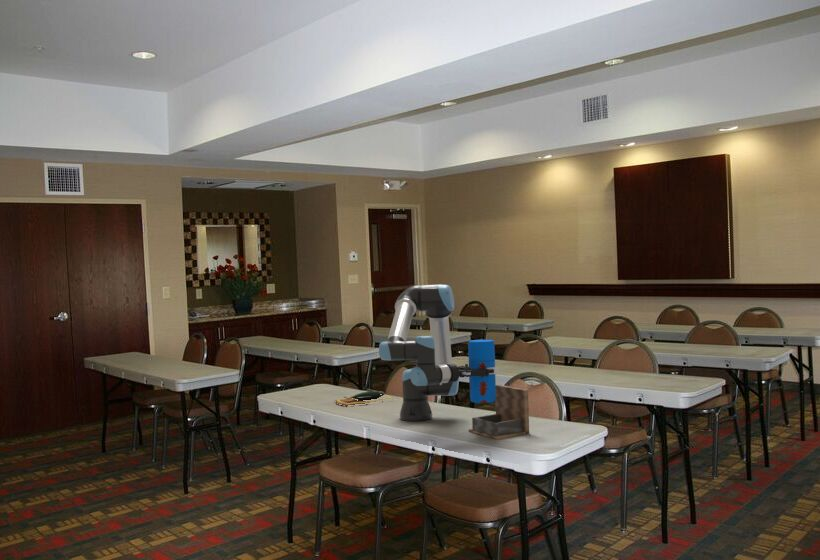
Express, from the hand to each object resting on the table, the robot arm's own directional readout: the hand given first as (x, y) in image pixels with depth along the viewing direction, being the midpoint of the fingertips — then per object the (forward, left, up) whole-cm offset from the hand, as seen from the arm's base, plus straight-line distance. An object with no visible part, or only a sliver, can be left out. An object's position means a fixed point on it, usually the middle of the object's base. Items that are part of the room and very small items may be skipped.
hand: (489, 368), depth 296 cm
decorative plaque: (-100, -6, -27) cm, 104 cm away
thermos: (0, -4, -13) cm, 14 cm away
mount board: (+3, +1, -26) cm, 27 cm away
